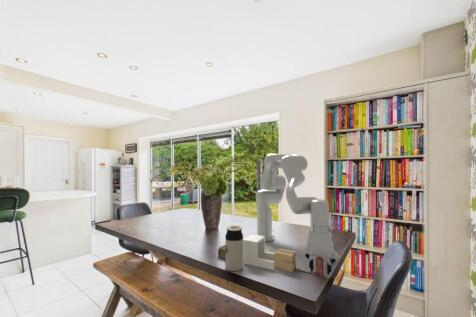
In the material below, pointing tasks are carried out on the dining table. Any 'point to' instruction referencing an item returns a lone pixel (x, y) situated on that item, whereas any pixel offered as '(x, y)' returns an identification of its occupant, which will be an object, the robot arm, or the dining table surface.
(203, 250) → the dining table surface
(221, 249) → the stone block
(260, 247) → the white l-shaped block
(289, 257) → the oak block with cord
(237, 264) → the travel mug
